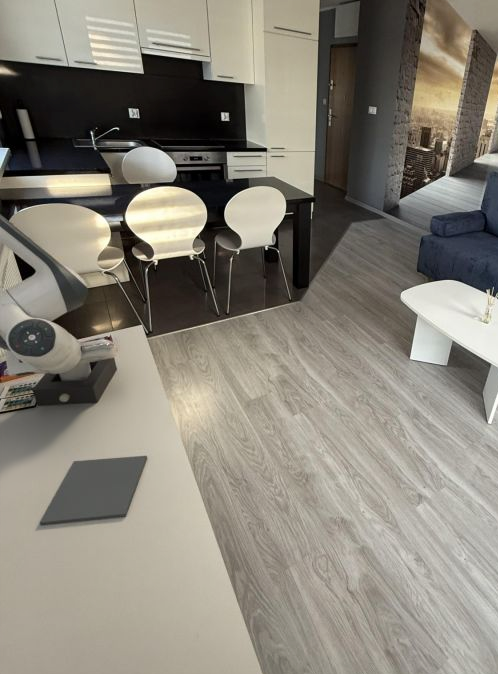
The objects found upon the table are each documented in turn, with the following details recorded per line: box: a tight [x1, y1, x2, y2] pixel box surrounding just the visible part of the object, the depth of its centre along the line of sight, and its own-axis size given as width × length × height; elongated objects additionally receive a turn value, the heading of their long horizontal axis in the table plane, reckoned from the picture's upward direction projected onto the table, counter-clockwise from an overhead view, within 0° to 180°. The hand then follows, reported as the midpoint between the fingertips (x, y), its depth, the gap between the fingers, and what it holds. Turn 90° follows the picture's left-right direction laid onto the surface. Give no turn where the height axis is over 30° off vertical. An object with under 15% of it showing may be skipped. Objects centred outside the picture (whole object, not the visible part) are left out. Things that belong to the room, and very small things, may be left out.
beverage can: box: [59, 363, 91, 381], centre depth 99 cm, size 6×6×12 cm
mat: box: [39, 455, 148, 526], centre depth 77 cm, size 14×13×1 cm
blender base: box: [31, 357, 118, 407], centre depth 100 cm, size 13×14×5 cm
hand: (73, 362), depth 99 cm, fingers closed on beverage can, 6 cm apart
